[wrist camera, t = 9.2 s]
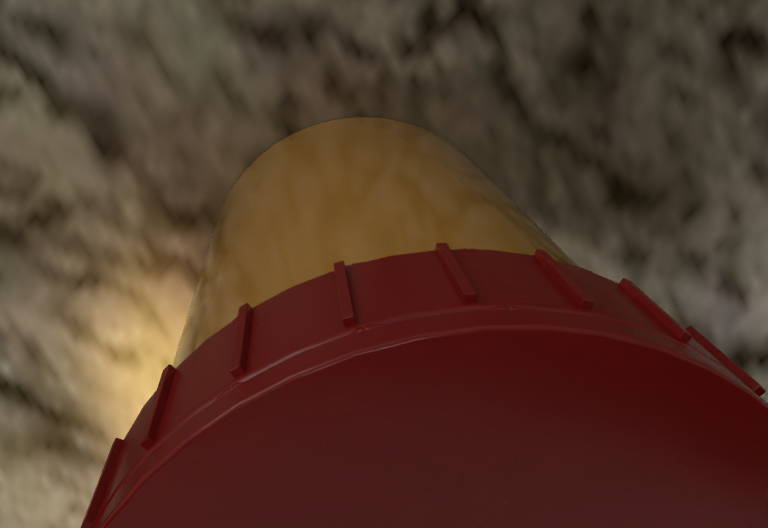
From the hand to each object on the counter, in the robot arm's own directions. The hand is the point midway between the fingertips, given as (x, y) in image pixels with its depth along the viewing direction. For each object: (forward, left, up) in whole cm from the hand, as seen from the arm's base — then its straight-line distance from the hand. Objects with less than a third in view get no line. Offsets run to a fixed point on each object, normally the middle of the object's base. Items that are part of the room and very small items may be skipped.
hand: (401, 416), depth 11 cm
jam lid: (0, 0, +4) cm, 4 cm away
